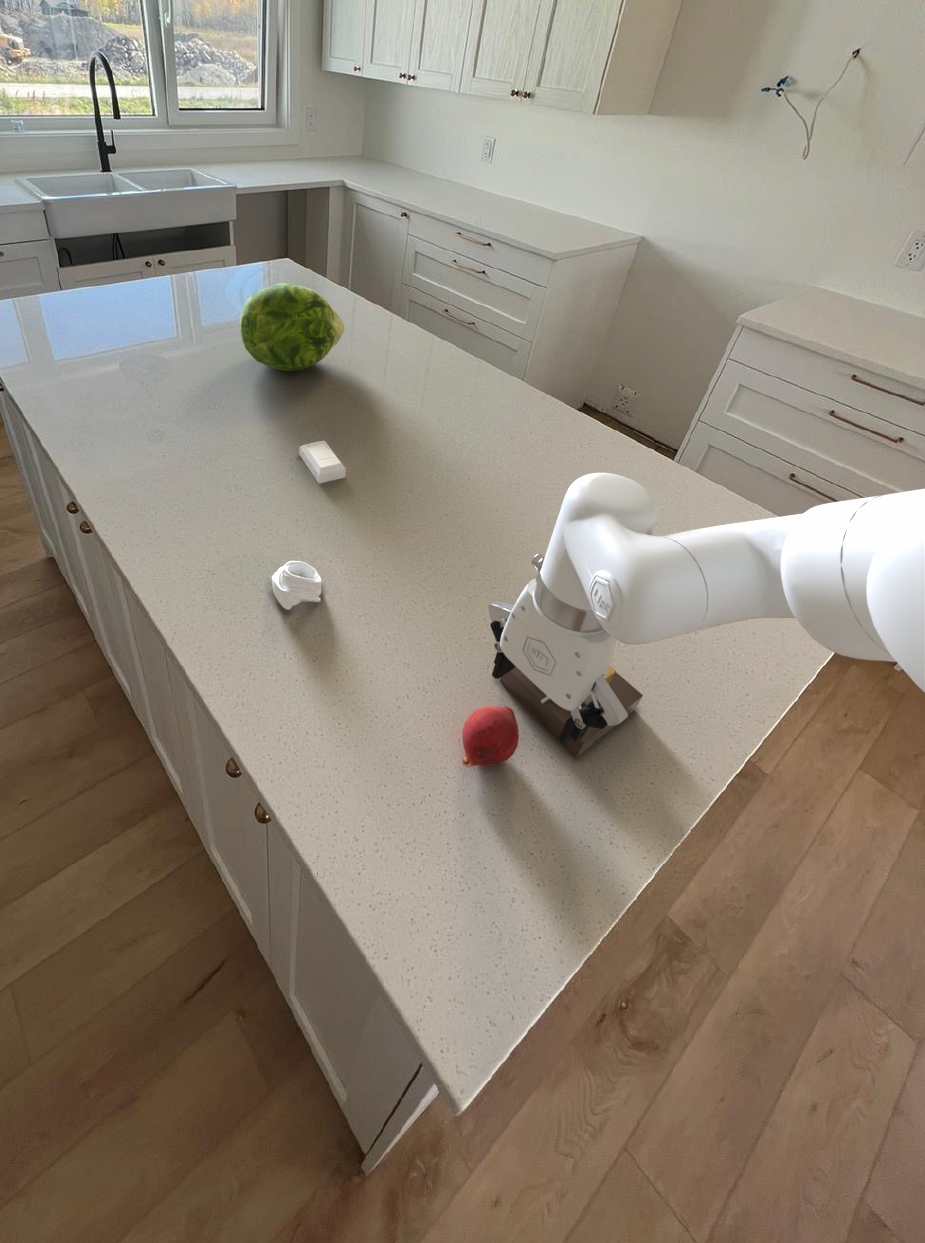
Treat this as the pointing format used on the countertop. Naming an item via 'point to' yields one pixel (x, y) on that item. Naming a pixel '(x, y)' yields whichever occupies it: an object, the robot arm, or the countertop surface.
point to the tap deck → (558, 716)
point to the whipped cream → (296, 584)
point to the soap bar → (322, 462)
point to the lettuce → (289, 327)
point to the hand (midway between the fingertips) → (534, 703)
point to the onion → (489, 736)
